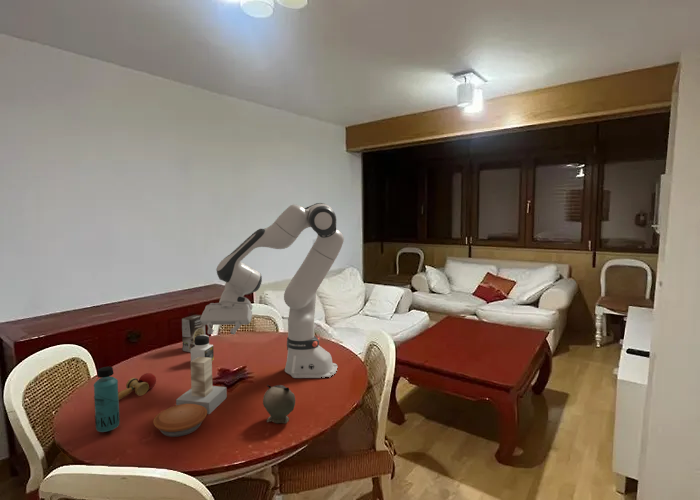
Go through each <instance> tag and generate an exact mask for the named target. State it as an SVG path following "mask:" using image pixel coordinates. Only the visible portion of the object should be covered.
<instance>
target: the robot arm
mask: <svg viewBox="0 0 700 500" xmlns="http://www.w3.org/2000/svg"><path fill="white" fill-rule="evenodd" d="M308 228H311V229H312V230H313V232H315V233H316V235H317V236H316V238H315V241H314V243H313V245H312V246H311V248H310V250H309V252H308V253H307V254H306V257H305V258H304V259H303V261H302V262H301V263H302V264H300V266H299V268H298V269H297V271H296V272H295V273H294V276H293V277H292V279H291V280H290V282H289V283H288V284H287V286H286V288H285V290H284V294H283V301H284V303H285V304H286V306H287V307H289V310H288V311H289V312H288V317H287V337H286V338H287V339H286V347H287V348H286V349H287V350H286V351H287V357H286V362H285V366H284V372H285V374H288V375H290V376H291V377H292V378H294V379H326V378H325V377H329V378H332V377H333V376H335V375H336V374H337V372H338V370H337V368H338V364H337V363H335V362H333V358H332V355H331V353H330V352H329V351H327V350H326V349H325V348H323V347H322V346H320V337H316V336H315V314H316V302H317V290H318V288H319V287H320V286H321V284H322V283H323V281H324V279H325V278H326V277H327V275H328V273H329V271H330V270H331V268H332V266H333V264H334V263H335V261H336V259H337V258H338V256H339V253H340V251H341V249H342V247H343V244H344V242H345V241H344V240H345V237H344V235H343V233H342V232H341V231H340V230H338V229H337V216H336V213H335V210H333V208H332V207H331V206H330V205H328V204H326V203H324V202H317V203H314V204H312V205H309V206H306V207H305V208H304V207H303V206H301V205H299V204H294V203H293V204H290V205H289V206H288V207H287V208H286V209H285V210H283V212H281V214H280V215H279V216H278V217H277V218H276V219H275V221H274V222H273V223H271V225H269V226H268V227H266V228H259V229H257V230H256V231H254V232H253V233H252V234H251V235H250V236H248V237H247V238H246V239H245V240H244V241H243V242H241V243H240V244H239V245H238V246H237V247H236V248H235V249H234V250H233V251H232V252H231V253H229V254H228V255H227V256H225V257H224V258H223V259H222V260H221V261H220V262H219V264H218V265H217V267H216V269H215V270H216V275H217V277H218V279H219V280H220V281H223V282H224V290H223V291H222V293H221V296H220V298H219V302H215V303H214V302H210V303H209V304H207V305H205V308H204V310H203V311H202V314H200V315H201V318H200V320H201V322H202V323H203V324H204V325H205V326H207V334H208V335H213V334H214V329H213V328H212V327H214V326H217V325H218V326H220V325H221V326H222V325H223V326H224V325H225V326H226V325H227V326H230V325H231V326H233V327H231V328H230V330H229V331H230V332H229V333H230V334H231V335H236V333H237V331H238V330H239V329H240V328H241V326H242V325H243V326H244V325H246V326H247V325H250V324H251V322H252V318H253V308H254V307H253V304H252V303H251V301H250V299H249V298H247V297H245V295H251V294H252V293H253V294H254V293H256V292H257V291H259V290H260V287H261V285H262V282H263V281H262V280H263V279H262V278H263V276H262V274H261V272H260V271H257V270H256V269H255V268H253V267H251V266H249V265H247V264H246V263H244V262H242V261H243V260H244V259H245V258H246V257H247V256H248V255H249V254H251V252H252V251H253V250H255V249H257V248H270V249H274V250H285V249H287V248H289V247H291V246H292V245H293V243H294V242H295V241H296V240H297V238H298V237H299V236H301V235H300V234H302V232H304V230H305V229H308ZM336 371H337V372H336ZM334 374H335V375H334ZM332 375H333V376H332ZM331 376H332V377H331ZM321 377H322V378H321Z"/></svg>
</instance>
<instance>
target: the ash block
mask: <svg viewBox="0 0 700 500" xmlns="http://www.w3.org/2000/svg"><path fill="white" fill-rule="evenodd" d="M212 363H213V361H212V358H209V357H197V358H196V359H194V360H193V361H191V360H190V383H191V384H190V386H191V387H190V389H191V390H192V396H199V397H206V396H207V395H208V394H209V393H210V392H212V391H213V387H212V386H213V364H212Z"/></svg>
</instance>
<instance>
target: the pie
mask: <svg viewBox="0 0 700 500" xmlns="http://www.w3.org/2000/svg"><path fill="white" fill-rule="evenodd" d="M207 415H208V414H207V409H206V408H205V407H203V406H201V405H197V404H180V405H173V406H171V407H168V408H166V409H165V410H162V411H160V412H159V413H158V414H156V415H155V416H154V419H153V425H154V426H155V428H156V429H158V430H159V431H160V433H162V435H163V436H166V437H171V438H173V437H174V438H176V437H183V436H186V435H189V434H191V433H194V432H195V431H197V430H198V429H199V427H201V425H202V424H203V421H204V420H205V419H206V418H207Z"/></svg>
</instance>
